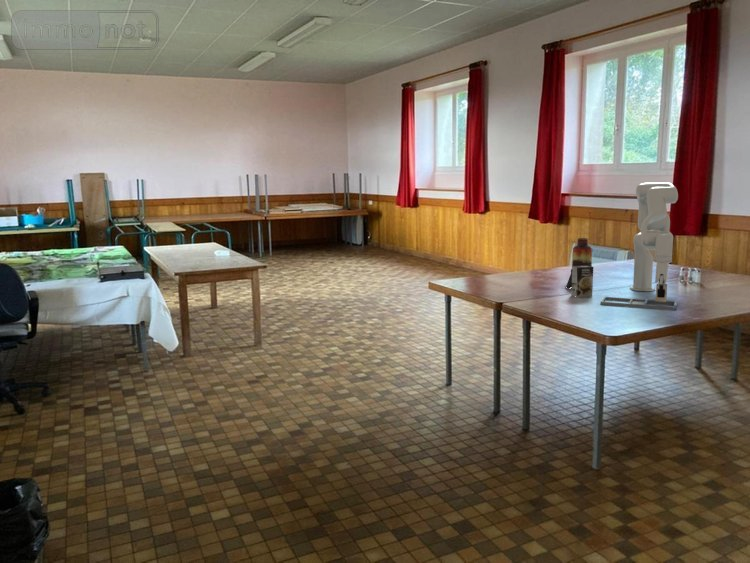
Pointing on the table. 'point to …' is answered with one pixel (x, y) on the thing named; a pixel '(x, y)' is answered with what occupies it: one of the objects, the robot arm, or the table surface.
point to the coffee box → (582, 281)
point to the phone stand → (569, 281)
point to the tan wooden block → (660, 297)
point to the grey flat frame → (639, 303)
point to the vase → (582, 253)
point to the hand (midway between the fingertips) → (661, 295)
